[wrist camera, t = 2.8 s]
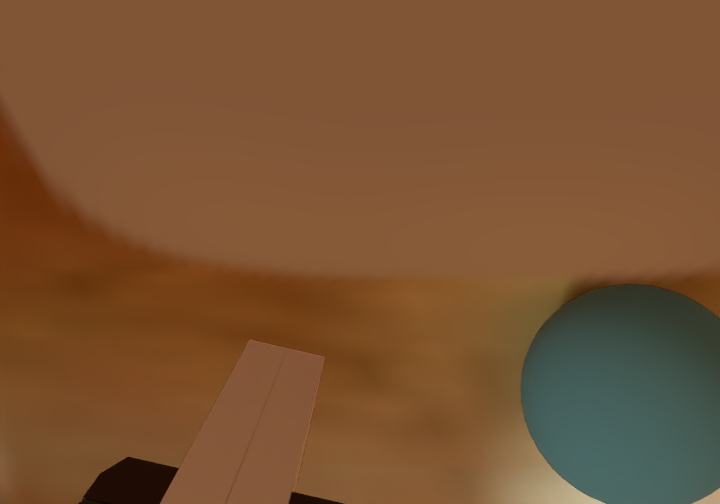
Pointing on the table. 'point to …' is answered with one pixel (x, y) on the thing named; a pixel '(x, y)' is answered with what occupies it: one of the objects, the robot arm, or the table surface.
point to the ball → (628, 395)
